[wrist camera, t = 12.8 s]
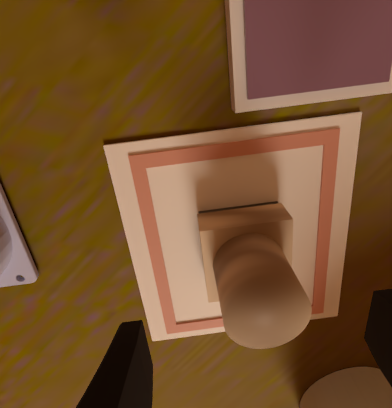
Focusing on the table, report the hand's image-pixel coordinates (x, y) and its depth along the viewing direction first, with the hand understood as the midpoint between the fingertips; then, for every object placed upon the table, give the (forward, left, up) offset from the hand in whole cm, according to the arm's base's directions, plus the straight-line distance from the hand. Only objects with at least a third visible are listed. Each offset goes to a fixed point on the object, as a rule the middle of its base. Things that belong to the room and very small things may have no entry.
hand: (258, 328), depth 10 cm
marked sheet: (+1, -4, -10) cm, 11 cm away
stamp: (+1, -3, -10) cm, 10 cm away
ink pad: (+5, +9, -10) cm, 14 cm away
